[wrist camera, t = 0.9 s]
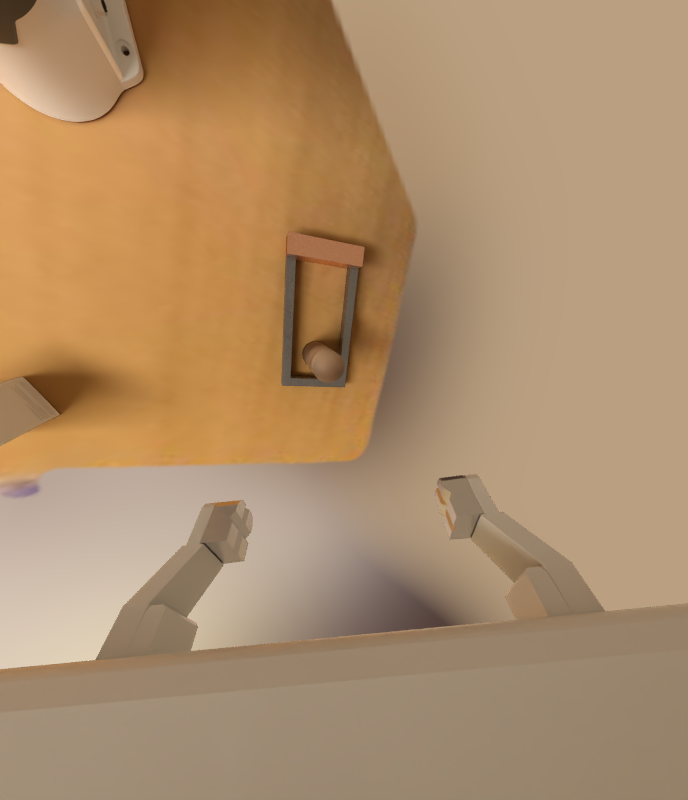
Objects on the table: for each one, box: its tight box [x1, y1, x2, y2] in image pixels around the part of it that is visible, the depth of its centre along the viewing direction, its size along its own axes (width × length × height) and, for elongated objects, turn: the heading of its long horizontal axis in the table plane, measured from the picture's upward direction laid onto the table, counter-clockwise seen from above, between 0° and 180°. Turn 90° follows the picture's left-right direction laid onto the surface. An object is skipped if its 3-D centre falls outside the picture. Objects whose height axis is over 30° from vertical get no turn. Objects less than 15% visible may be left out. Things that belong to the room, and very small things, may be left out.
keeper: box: [302, 341, 344, 383], centre depth 45 cm, size 5×5×12 cm
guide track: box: [281, 232, 365, 387], centre depth 47 cm, size 25×12×4 cm, turn 174°
